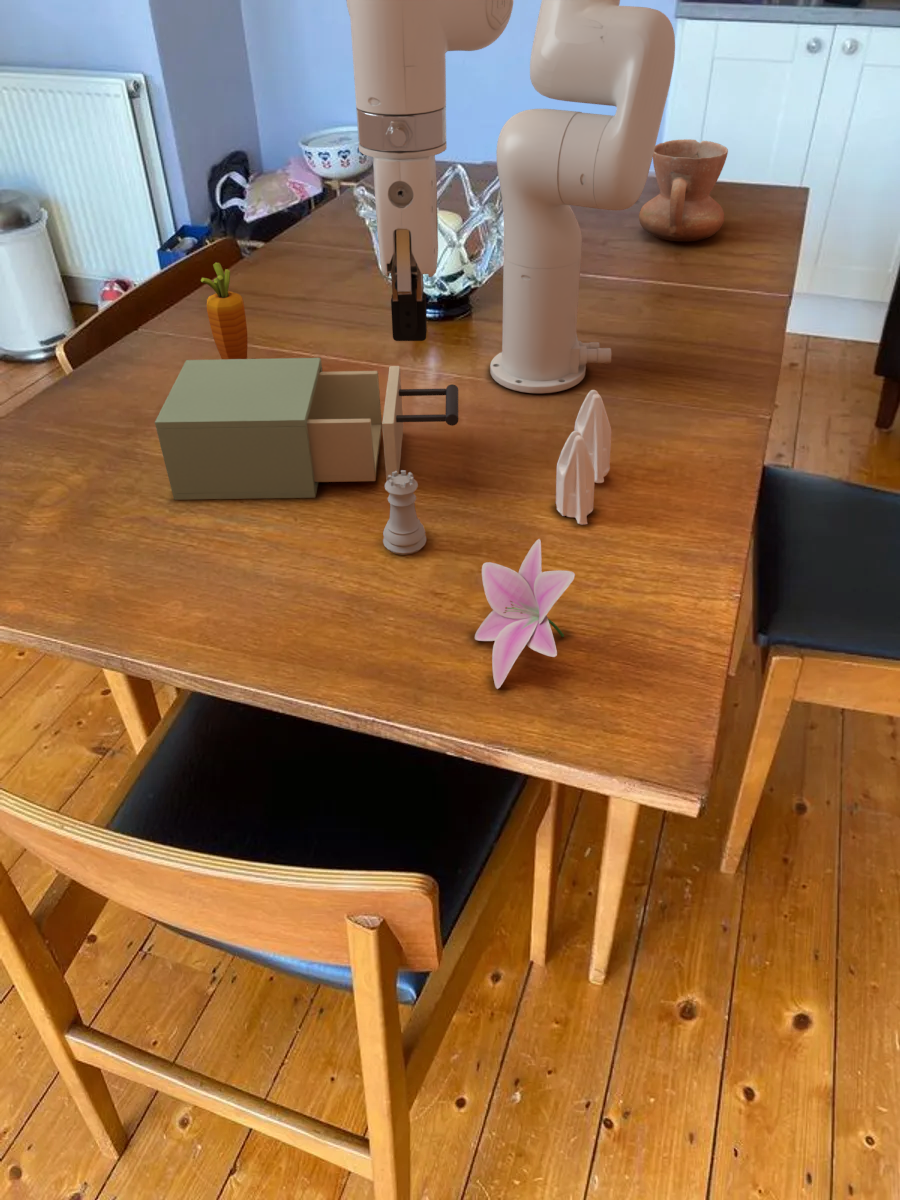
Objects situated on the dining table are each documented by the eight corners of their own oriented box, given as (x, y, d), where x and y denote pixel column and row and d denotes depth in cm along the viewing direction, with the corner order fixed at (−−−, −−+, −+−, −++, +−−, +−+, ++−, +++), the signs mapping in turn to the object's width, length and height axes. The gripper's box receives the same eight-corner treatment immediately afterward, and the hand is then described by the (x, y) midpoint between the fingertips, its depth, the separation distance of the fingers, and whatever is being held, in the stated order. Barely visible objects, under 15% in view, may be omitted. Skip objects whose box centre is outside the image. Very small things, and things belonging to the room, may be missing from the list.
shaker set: (578, 462, 107) (584, 372, 100) (614, 468, 106) (623, 378, 99) (548, 518, 98) (553, 425, 91) (586, 526, 97) (595, 432, 90)
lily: (489, 600, 90) (445, 547, 83) (607, 572, 85) (571, 513, 78) (489, 714, 83) (441, 667, 76) (616, 690, 79) (578, 638, 72)
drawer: (459, 425, 112) (458, 364, 107) (459, 485, 102) (458, 422, 97) (283, 427, 113) (274, 367, 108) (265, 488, 102) (254, 425, 97)
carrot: (249, 387, 123) (229, 274, 113) (213, 385, 124) (191, 272, 114) (262, 370, 127) (244, 260, 117) (228, 368, 127) (207, 258, 118)
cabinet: (329, 431, 114) (320, 357, 108) (315, 497, 102) (304, 419, 96) (201, 433, 114) (186, 359, 108) (173, 499, 103) (154, 422, 97)
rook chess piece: (375, 551, 95) (369, 484, 90) (394, 527, 98) (389, 461, 93) (416, 560, 93) (412, 493, 88) (433, 536, 96) (430, 469, 91)
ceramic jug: (649, 215, 172) (659, 132, 163) (729, 224, 168) (743, 138, 159) (624, 248, 160) (633, 159, 151) (709, 258, 155) (724, 167, 146)
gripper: (444, 151, 73) (447, 370, 85) (448, 111, 85) (450, 308, 96) (348, 152, 73) (364, 371, 85) (365, 111, 85) (377, 308, 97)
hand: (409, 337), depth 91 cm, fingers closed
